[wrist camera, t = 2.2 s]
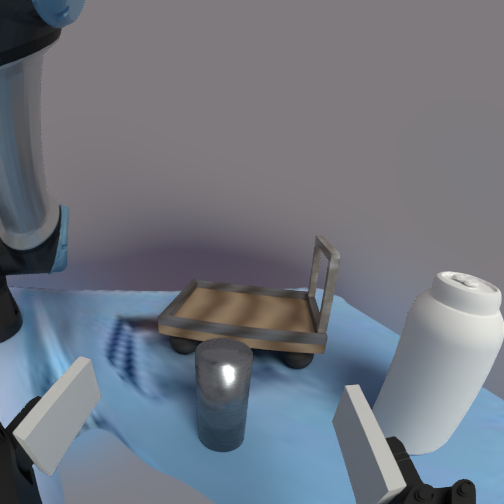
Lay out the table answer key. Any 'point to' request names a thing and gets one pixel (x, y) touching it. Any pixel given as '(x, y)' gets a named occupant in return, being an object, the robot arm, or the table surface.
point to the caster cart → (255, 314)
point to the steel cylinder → (222, 392)
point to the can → (440, 361)
